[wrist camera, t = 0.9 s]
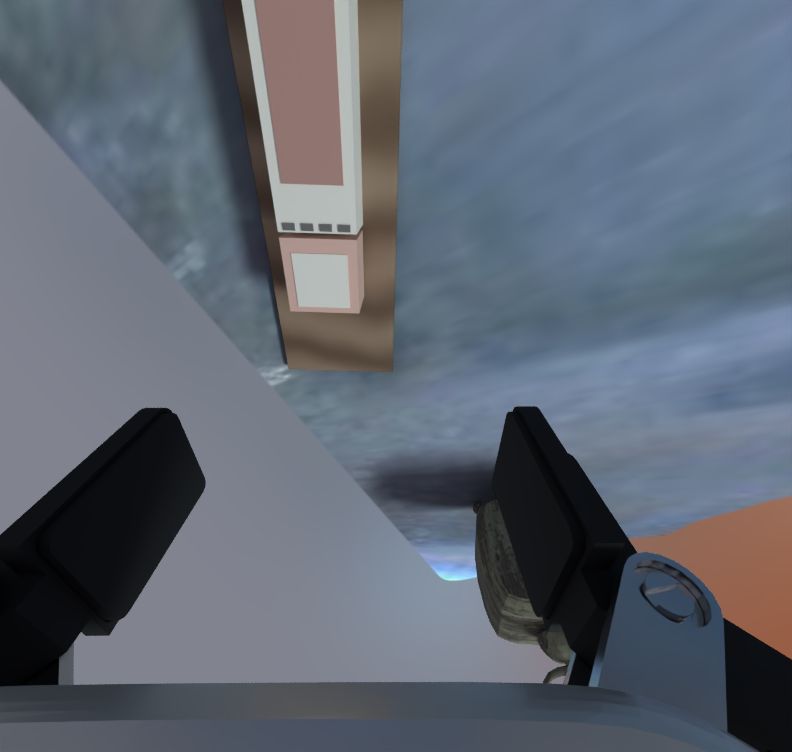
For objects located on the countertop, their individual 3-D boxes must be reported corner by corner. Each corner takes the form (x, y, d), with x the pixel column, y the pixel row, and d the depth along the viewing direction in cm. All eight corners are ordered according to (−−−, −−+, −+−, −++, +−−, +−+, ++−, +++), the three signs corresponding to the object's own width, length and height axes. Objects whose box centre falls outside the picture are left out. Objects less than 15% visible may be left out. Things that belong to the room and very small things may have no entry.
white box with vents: (262, -35, 21) (226, -88, 16) (356, -32, 21) (344, -84, 16) (295, 222, 29) (277, 232, 25) (362, 224, 29) (356, 234, 25)
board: (213, -79, 20) (206, -88, 20) (404, -72, 20) (404, -80, 20) (290, 365, 38) (288, 368, 37) (392, 368, 38) (392, 372, 37)
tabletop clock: (464, 510, 53) (507, 738, 32) (465, 473, 48) (515, 713, 27) (555, 506, 52) (661, 737, 31) (565, 467, 47) (699, 711, 26)
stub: (295, 228, 29) (278, 237, 25) (362, 230, 29) (356, 240, 25) (303, 293, 32) (290, 311, 28) (364, 295, 32) (359, 314, 28)
